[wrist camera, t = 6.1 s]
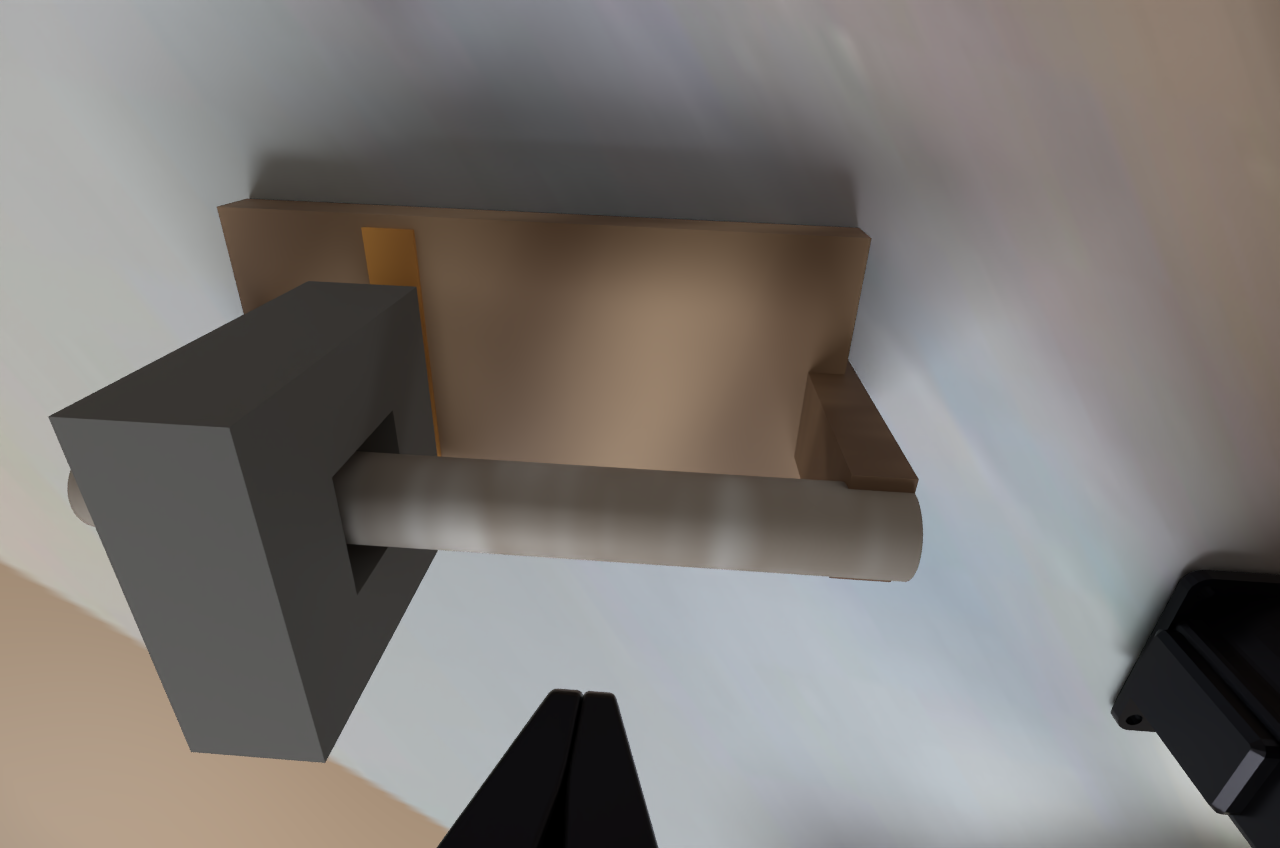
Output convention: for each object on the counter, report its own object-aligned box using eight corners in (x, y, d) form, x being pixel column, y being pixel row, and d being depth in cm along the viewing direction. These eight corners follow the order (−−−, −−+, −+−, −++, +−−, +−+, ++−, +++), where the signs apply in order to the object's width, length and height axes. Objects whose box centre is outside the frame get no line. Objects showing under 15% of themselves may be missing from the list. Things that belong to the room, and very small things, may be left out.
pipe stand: (871, 228, 16) (993, 322, 9) (812, 533, 20) (870, 737, 14) (235, 198, 16) (-41, 268, 10) (307, 500, 20) (143, 681, 14)
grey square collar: (416, 286, 14) (228, 427, 8) (447, 533, 17) (325, 763, 11) (307, 281, 14) (48, 416, 8) (357, 527, 17) (191, 752, 12)
